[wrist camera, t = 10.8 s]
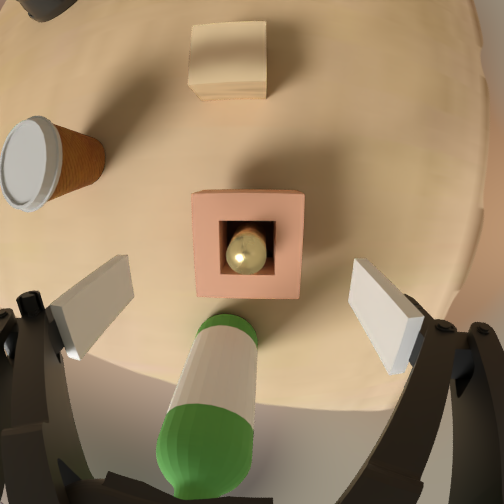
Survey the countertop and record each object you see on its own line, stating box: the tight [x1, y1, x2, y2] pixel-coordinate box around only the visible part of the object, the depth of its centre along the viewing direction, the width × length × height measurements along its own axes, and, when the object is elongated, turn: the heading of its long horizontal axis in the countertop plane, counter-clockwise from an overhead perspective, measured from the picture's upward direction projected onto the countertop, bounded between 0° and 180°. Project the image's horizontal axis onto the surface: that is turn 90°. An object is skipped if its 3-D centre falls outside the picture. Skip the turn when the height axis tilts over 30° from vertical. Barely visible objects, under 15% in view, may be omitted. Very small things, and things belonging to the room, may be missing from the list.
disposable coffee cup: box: [0, 116, 105, 212], centre depth 22 cm, size 10×10×12 cm
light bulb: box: [226, 221, 274, 275], centre depth 25 cm, size 7×7×10 cm
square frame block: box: [191, 189, 305, 299], centre depth 25 cm, size 9×9×5 cm
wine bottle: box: [156, 314, 258, 500], centre depth 20 cm, size 8×8×30 cm
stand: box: [188, 21, 267, 101], centre depth 22 cm, size 7×7×6 cm
